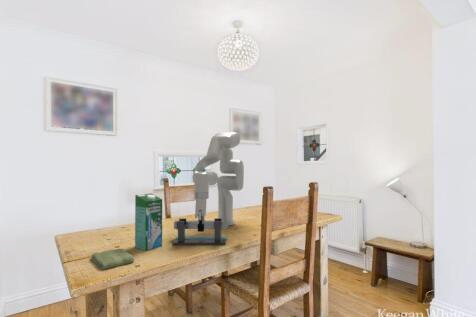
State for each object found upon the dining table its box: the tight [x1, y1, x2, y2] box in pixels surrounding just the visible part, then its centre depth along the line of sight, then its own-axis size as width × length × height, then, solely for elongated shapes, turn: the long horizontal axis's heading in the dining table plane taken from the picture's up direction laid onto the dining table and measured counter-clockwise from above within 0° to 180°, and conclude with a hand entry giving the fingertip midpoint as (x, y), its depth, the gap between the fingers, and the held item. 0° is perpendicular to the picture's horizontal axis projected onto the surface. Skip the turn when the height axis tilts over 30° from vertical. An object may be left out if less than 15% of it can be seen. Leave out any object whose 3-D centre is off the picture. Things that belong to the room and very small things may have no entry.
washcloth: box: [90, 248, 135, 270], centre depth 109 cm, size 13×18×3 cm
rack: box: [171, 217, 227, 246], centre depth 132 cm, size 7×26×12 cm, turn 91°
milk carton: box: [134, 193, 163, 252], centre depth 127 cm, size 9×9×25 cm
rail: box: [173, 220, 229, 230], centre depth 139 cm, size 4×28×4 cm, turn 91°
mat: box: [173, 235, 228, 241], centre depth 139 cm, size 6×27×1 cm, turn 91°
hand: (201, 230), depth 139 cm, fingers closed on rail, 3 cm apart
